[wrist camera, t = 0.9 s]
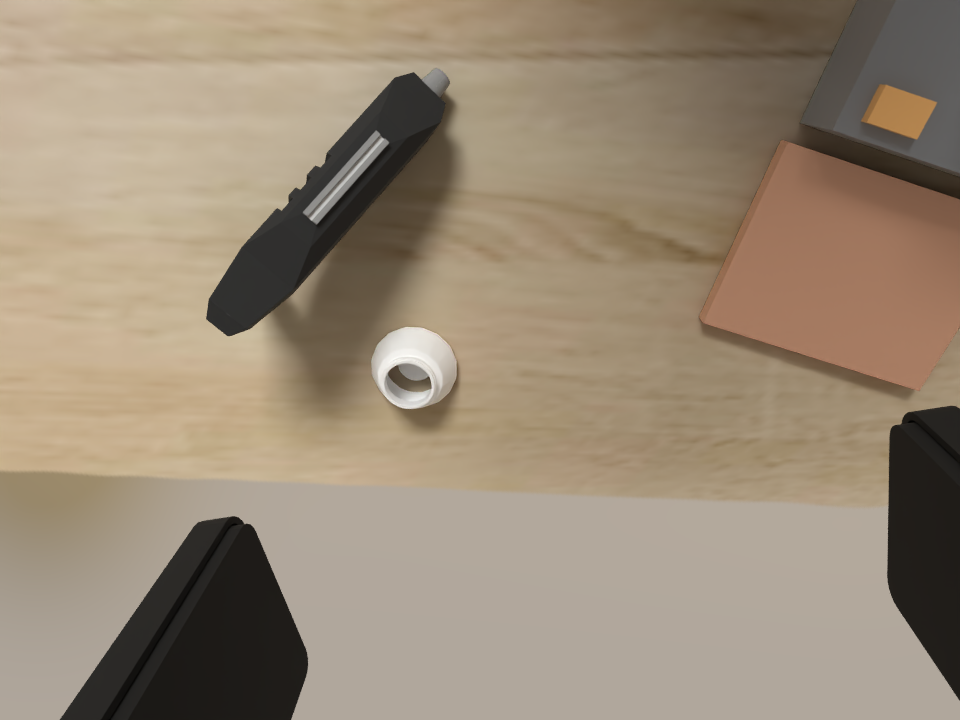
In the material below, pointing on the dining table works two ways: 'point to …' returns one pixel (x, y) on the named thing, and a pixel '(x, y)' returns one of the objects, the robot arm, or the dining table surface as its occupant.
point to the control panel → (896, 81)
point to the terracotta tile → (844, 268)
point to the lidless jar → (414, 366)
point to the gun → (328, 202)
